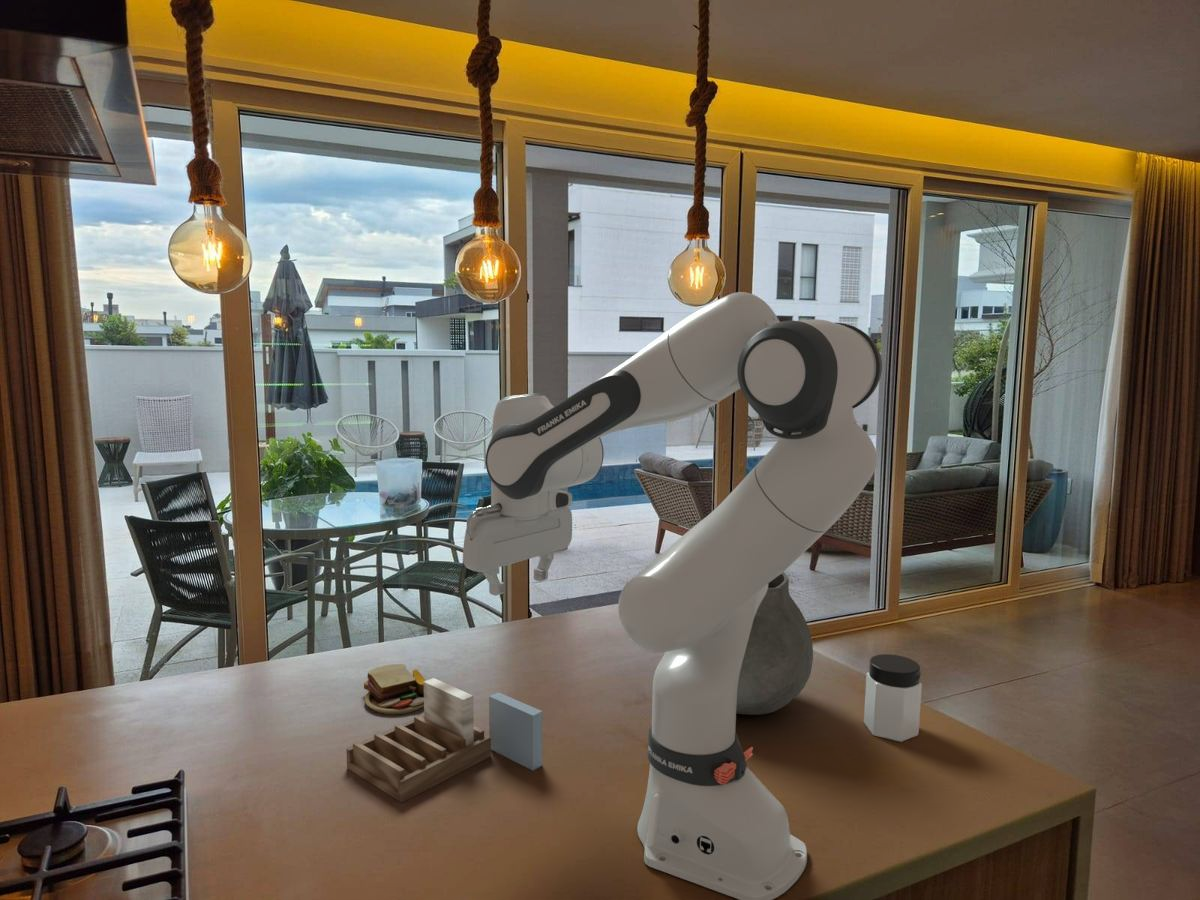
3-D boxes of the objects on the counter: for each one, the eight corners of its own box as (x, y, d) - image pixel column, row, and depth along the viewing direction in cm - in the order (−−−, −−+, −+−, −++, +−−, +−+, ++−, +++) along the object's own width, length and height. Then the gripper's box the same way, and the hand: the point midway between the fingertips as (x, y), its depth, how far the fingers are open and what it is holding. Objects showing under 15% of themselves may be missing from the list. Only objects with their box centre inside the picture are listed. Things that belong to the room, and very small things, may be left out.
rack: (490, 756, 125) (490, 695, 124) (401, 802, 112) (400, 735, 111) (435, 727, 134) (434, 671, 133) (347, 768, 121) (344, 705, 120)
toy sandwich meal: (374, 723, 136) (374, 697, 135) (356, 693, 147) (355, 669, 147) (444, 707, 142) (443, 682, 142) (421, 679, 154) (420, 656, 153)
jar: (925, 742, 131) (930, 674, 129) (877, 742, 131) (881, 674, 129) (903, 717, 140) (907, 652, 138) (858, 717, 140) (861, 652, 138)
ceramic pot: (699, 668, 160) (702, 549, 157) (821, 691, 150) (827, 564, 146) (656, 719, 138) (659, 582, 135) (795, 751, 128) (802, 603, 124)
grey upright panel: (542, 765, 123) (542, 711, 121) (533, 770, 121) (533, 715, 120) (498, 744, 129) (498, 692, 128) (489, 748, 127) (489, 696, 126)
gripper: (482, 513, 110) (482, 608, 112) (579, 493, 125) (577, 576, 127) (453, 506, 114) (453, 598, 116) (551, 487, 129) (549, 568, 131)
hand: (519, 586), depth 122 cm, fingers open, 8 cm apart
